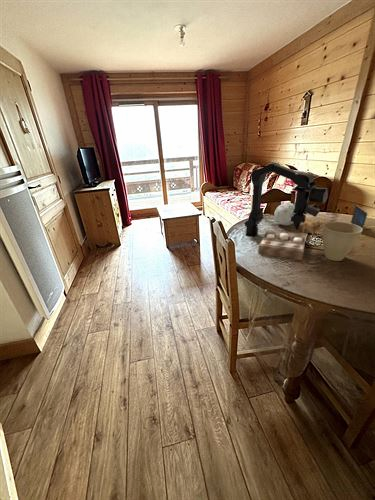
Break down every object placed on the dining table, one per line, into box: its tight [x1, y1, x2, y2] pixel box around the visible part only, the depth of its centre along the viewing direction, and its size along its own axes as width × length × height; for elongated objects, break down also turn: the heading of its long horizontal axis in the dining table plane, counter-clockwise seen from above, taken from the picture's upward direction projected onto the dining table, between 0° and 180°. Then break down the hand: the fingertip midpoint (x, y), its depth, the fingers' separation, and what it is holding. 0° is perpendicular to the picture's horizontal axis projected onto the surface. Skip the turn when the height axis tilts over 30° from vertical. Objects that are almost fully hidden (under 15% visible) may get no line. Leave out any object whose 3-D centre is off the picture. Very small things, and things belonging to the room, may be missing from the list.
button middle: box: [280, 232, 289, 240], centre depth 118 cm, size 4×4×4 cm
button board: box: [257, 230, 307, 261], centre depth 117 cm, size 21×22×5 cm
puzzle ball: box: [274, 202, 295, 227], centre depth 145 cm, size 15×15×15 cm
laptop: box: [350, 204, 368, 234], centre depth 132 cm, size 18×12×13 cm
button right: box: [293, 237, 303, 242], centre depth 116 cm, size 4×4×4 cm
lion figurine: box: [298, 220, 325, 236], centre depth 131 cm, size 15×5×9 cm, turn 36°
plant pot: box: [322, 221, 363, 262], centre depth 101 cm, size 15×15×16 cm
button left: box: [266, 234, 275, 239], centre depth 122 cm, size 4×4×4 cm
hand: (296, 229), depth 114 cm, fingers closed
